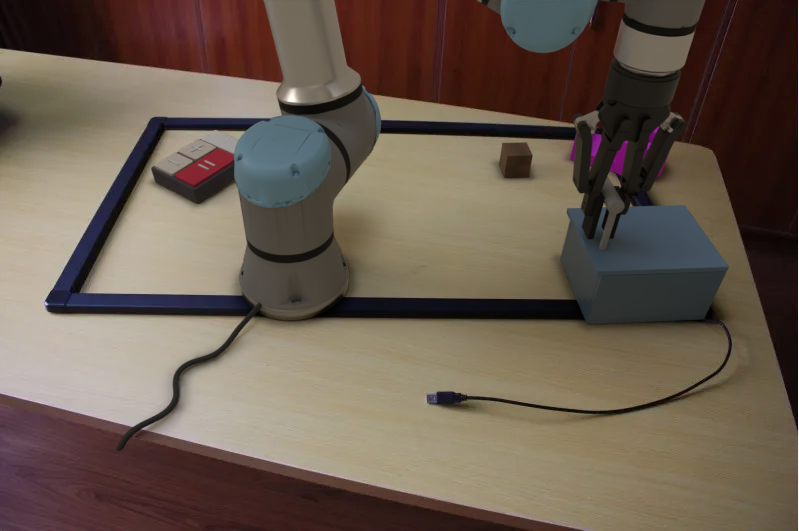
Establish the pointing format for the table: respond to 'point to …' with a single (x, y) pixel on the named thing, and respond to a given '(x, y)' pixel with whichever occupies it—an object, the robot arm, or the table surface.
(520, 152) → the block
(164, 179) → the calculator
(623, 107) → the robot arm
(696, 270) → the lid
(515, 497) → the table surface
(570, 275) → the compartment
